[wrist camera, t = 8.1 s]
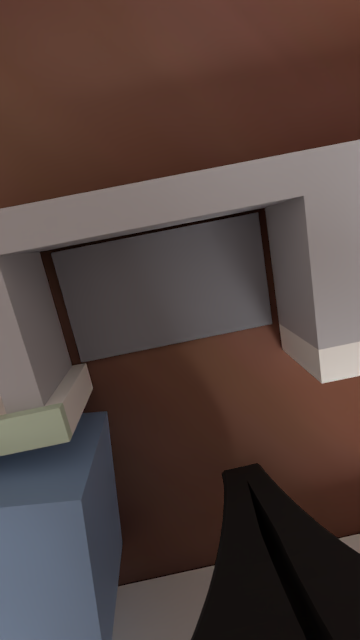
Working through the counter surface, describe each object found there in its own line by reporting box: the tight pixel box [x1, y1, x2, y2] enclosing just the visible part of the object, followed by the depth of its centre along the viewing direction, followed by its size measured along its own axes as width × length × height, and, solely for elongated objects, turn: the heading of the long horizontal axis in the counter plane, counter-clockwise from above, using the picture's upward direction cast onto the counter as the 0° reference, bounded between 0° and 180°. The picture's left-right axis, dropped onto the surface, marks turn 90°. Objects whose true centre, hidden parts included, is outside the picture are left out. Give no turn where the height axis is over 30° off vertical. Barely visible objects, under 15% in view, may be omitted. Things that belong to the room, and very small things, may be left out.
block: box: [0, 411, 123, 640], centre depth 11 cm, size 6×6×4 cm
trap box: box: [0, 140, 360, 640], centre depth 11 cm, size 16×29×3 cm, turn 101°
